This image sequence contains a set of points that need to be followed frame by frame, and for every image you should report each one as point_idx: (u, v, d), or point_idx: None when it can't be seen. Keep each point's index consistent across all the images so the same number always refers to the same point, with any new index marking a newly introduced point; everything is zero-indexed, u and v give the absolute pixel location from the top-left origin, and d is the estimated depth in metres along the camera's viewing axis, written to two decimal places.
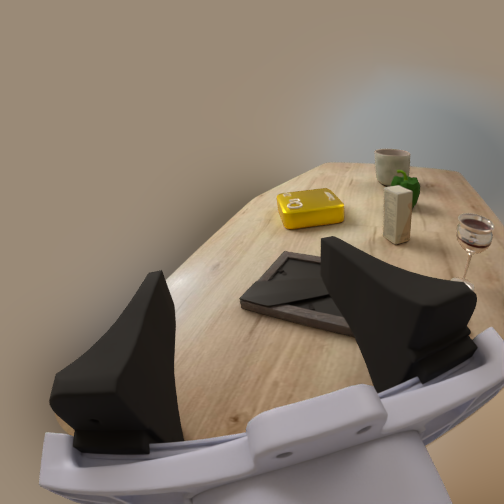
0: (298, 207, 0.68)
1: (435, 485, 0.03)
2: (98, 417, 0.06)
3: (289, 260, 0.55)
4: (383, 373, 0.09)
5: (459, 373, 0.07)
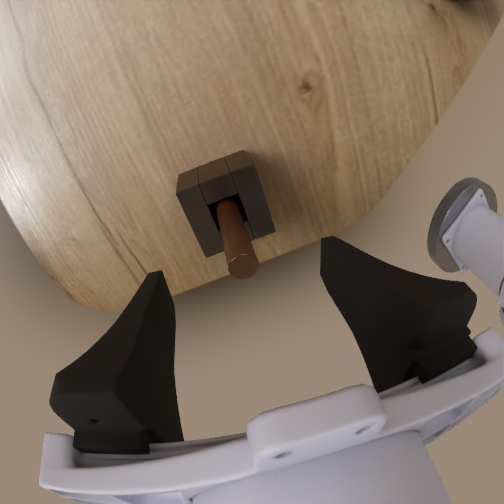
0: None
1: (435, 485, 0.03)
2: (98, 417, 0.06)
3: None
4: (383, 373, 0.09)
5: (459, 373, 0.07)
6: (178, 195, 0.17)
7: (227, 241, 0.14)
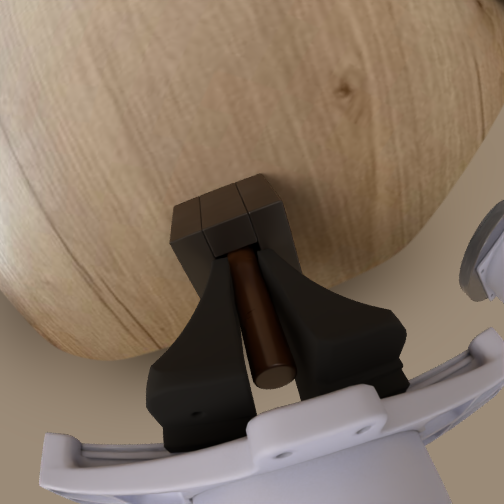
0: None
1: (435, 485, 0.03)
2: (207, 408, 0.06)
3: None
4: (306, 399, 0.09)
5: (459, 373, 0.07)
6: (173, 245, 0.12)
7: (248, 331, 0.09)
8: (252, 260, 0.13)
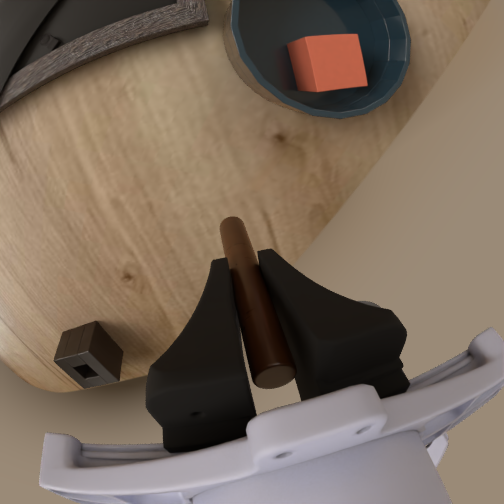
0: None
1: (435, 485, 0.03)
2: (207, 408, 0.06)
3: None
4: (306, 399, 0.09)
5: (459, 373, 0.07)
6: (55, 361, 0.22)
7: (248, 331, 0.09)
8: (252, 259, 0.13)
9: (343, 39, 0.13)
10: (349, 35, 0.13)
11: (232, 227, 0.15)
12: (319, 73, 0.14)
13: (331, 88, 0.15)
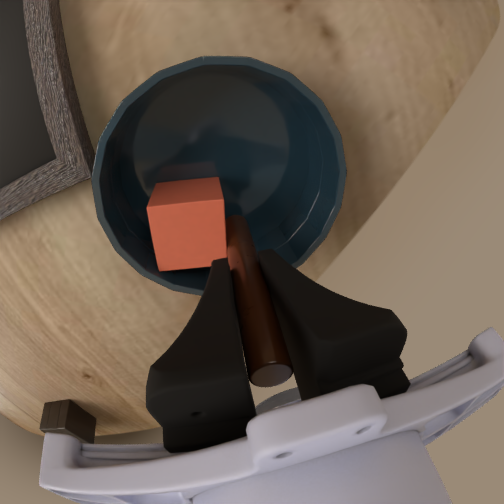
0: None
1: (435, 485, 0.03)
2: (207, 408, 0.06)
3: None
4: (306, 399, 0.09)
5: (459, 373, 0.07)
6: None
7: (246, 328, 0.09)
8: (253, 258, 0.13)
9: (200, 208, 0.13)
10: (210, 202, 0.13)
11: (235, 225, 0.15)
12: (162, 252, 0.14)
13: (176, 268, 0.14)
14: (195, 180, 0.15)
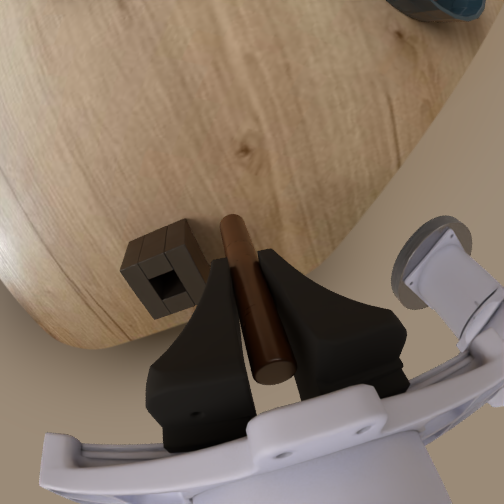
0: None
1: (435, 485, 0.03)
2: (206, 408, 0.06)
3: None
4: (306, 399, 0.09)
5: (459, 373, 0.07)
6: (122, 272, 0.19)
7: (248, 326, 0.09)
8: (252, 256, 0.13)
9: None
10: None
11: (233, 224, 0.15)
12: None
13: None
14: None
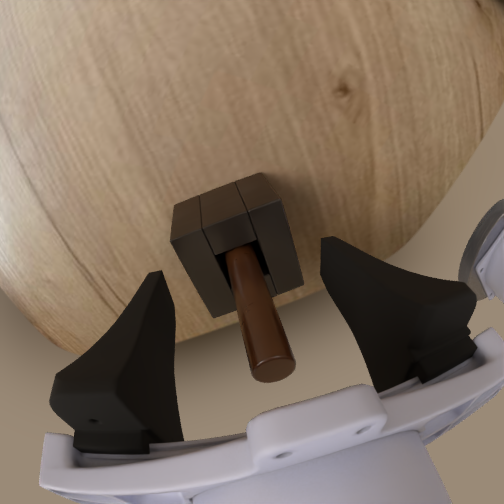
0: None
1: (435, 485, 0.03)
2: (99, 417, 0.06)
3: None
4: (383, 373, 0.09)
5: (459, 373, 0.07)
6: (173, 243, 0.12)
7: (247, 324, 0.09)
8: (251, 255, 0.13)
9: None
10: None
11: None
12: None
13: None
14: None
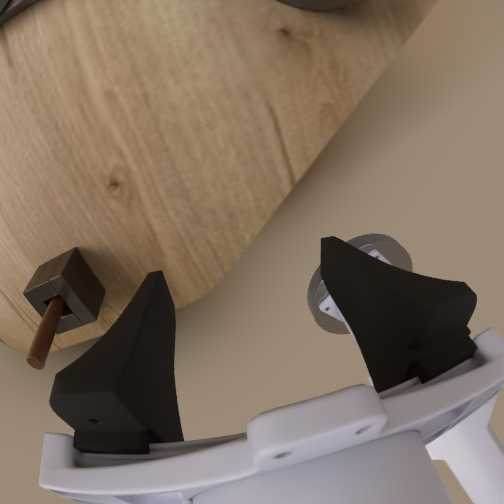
0: None
1: (435, 485, 0.03)
2: (99, 417, 0.06)
3: None
4: (383, 373, 0.09)
5: (459, 373, 0.07)
6: (24, 295, 0.18)
7: (33, 341, 0.15)
8: (56, 303, 0.19)
9: None
10: None
11: None
12: None
13: None
14: None
